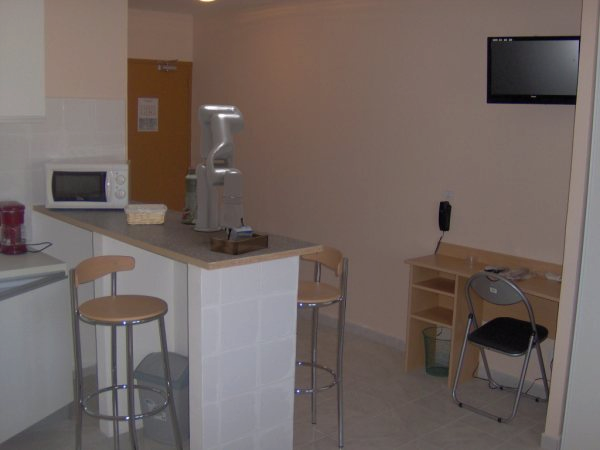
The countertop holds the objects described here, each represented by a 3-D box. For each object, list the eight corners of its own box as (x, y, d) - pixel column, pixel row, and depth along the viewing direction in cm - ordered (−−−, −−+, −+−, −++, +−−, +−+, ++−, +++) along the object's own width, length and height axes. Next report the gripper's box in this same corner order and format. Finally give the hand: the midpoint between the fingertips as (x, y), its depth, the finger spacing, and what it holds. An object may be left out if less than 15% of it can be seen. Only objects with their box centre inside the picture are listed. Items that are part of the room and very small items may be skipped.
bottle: (196, 225, 347) (196, 167, 342) (178, 224, 348) (179, 166, 344) (202, 222, 355) (202, 166, 350) (185, 221, 357) (185, 165, 352)
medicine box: (232, 250, 291) (236, 232, 287) (227, 244, 294) (231, 226, 290) (249, 248, 295) (253, 230, 292) (244, 243, 298) (248, 225, 295)
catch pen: (210, 250, 289) (210, 238, 289) (243, 242, 307) (243, 231, 306) (235, 254, 282) (236, 242, 281) (267, 247, 300) (268, 235, 299)
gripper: (212, 199, 294) (212, 243, 298) (241, 203, 286) (240, 248, 289) (224, 197, 301) (224, 240, 304) (252, 201, 292) (251, 245, 295)
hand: (231, 244), depth 296 cm, fingers closed
